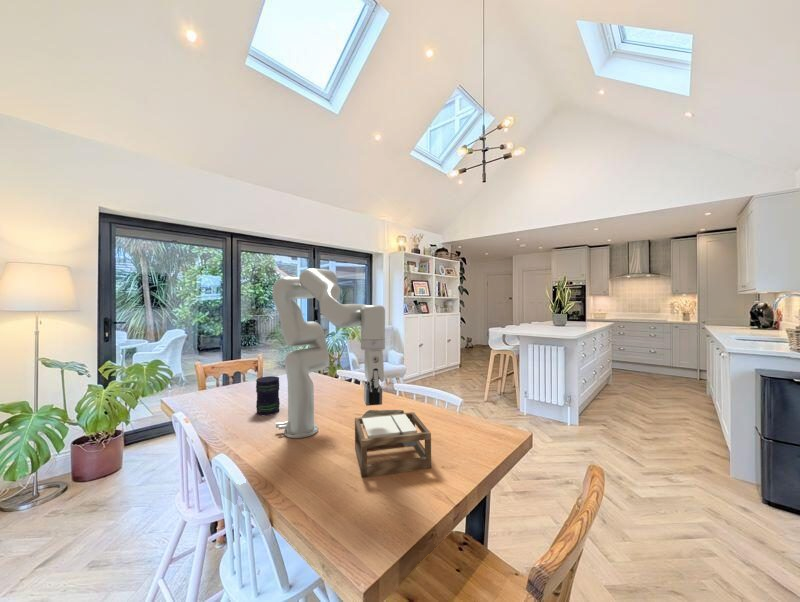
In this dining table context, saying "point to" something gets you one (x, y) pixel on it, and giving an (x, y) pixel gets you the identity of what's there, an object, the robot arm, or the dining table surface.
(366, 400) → the basalt block
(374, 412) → the marble piece
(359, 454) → the walnut hatch frame
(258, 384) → the storage jar
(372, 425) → the hatch leaf
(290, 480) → the dining table surface
